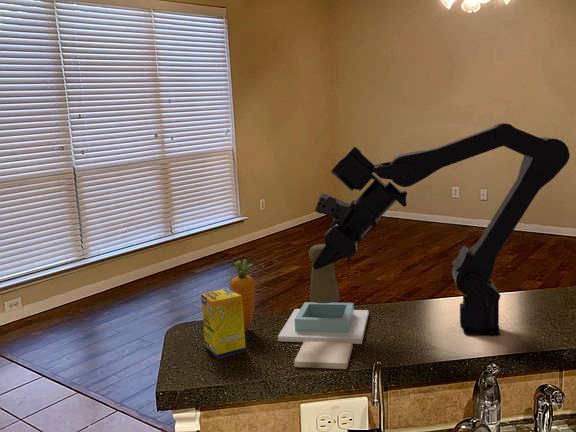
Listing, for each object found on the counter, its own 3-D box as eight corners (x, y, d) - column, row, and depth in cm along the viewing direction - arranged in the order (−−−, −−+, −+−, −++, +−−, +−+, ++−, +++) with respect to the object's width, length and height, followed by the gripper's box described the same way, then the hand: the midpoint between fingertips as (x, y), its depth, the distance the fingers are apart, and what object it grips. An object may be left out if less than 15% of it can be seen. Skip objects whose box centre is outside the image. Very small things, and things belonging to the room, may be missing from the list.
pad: (352, 347, 105) (352, 342, 105) (346, 369, 96) (346, 363, 96) (304, 346, 107) (304, 341, 107) (294, 366, 98) (294, 361, 98)
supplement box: (204, 349, 108) (199, 293, 107) (233, 341, 111) (229, 287, 109) (216, 359, 103) (211, 301, 101) (246, 351, 106) (242, 294, 104)
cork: (339, 293, 117) (337, 241, 115) (339, 302, 111) (337, 247, 110) (310, 294, 118) (307, 242, 116) (308, 303, 112) (305, 249, 110)
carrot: (247, 324, 120) (242, 255, 118) (263, 329, 117) (258, 258, 114) (228, 331, 117) (223, 260, 114) (244, 337, 113) (239, 263, 111)
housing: (368, 314, 122) (368, 298, 121) (361, 343, 106) (360, 326, 106) (295, 313, 125) (294, 297, 125) (278, 341, 110) (277, 323, 109)
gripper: (342, 174, 119) (293, 228, 123) (333, 185, 101) (276, 247, 105) (382, 210, 119) (332, 262, 123) (380, 227, 101) (322, 288, 105)
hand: (315, 264), depth 114 cm, fingers closed on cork, 5 cm apart
